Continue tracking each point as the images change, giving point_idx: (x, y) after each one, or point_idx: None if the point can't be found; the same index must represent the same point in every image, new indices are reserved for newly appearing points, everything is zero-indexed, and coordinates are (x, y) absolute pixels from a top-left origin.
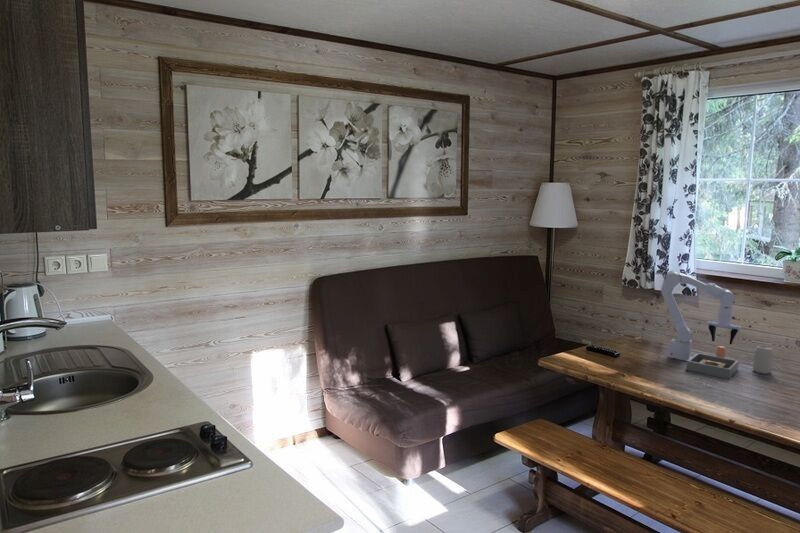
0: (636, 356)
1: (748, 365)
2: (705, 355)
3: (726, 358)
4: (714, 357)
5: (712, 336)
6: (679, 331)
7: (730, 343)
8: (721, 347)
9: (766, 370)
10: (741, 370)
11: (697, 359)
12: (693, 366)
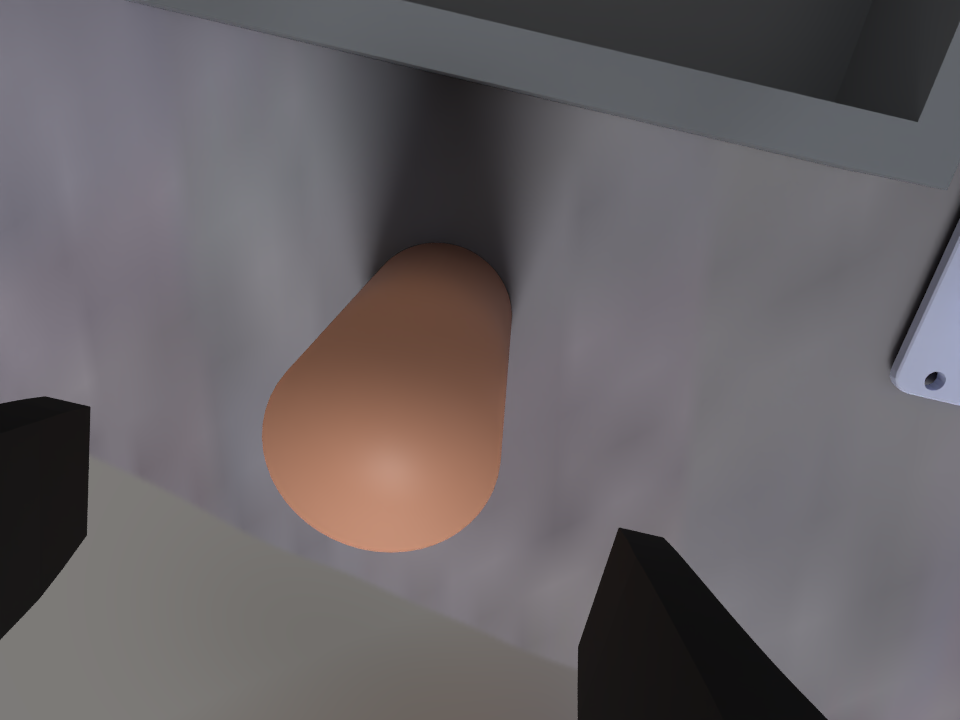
0: None
1: None
2: (757, 88)
3: (268, 18)
4: (546, 34)
5: (725, 641)
6: None
7: (35, 405)
8: (377, 413)
9: None
10: (64, 6)
11: (900, 10)
12: None
